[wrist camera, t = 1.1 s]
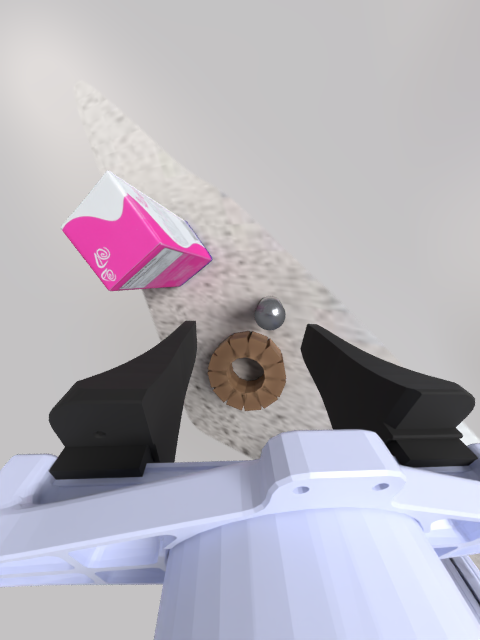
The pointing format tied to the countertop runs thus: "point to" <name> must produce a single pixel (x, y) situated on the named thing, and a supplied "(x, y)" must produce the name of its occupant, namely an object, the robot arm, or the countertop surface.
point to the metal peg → (270, 313)
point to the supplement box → (133, 238)
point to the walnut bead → (240, 389)
